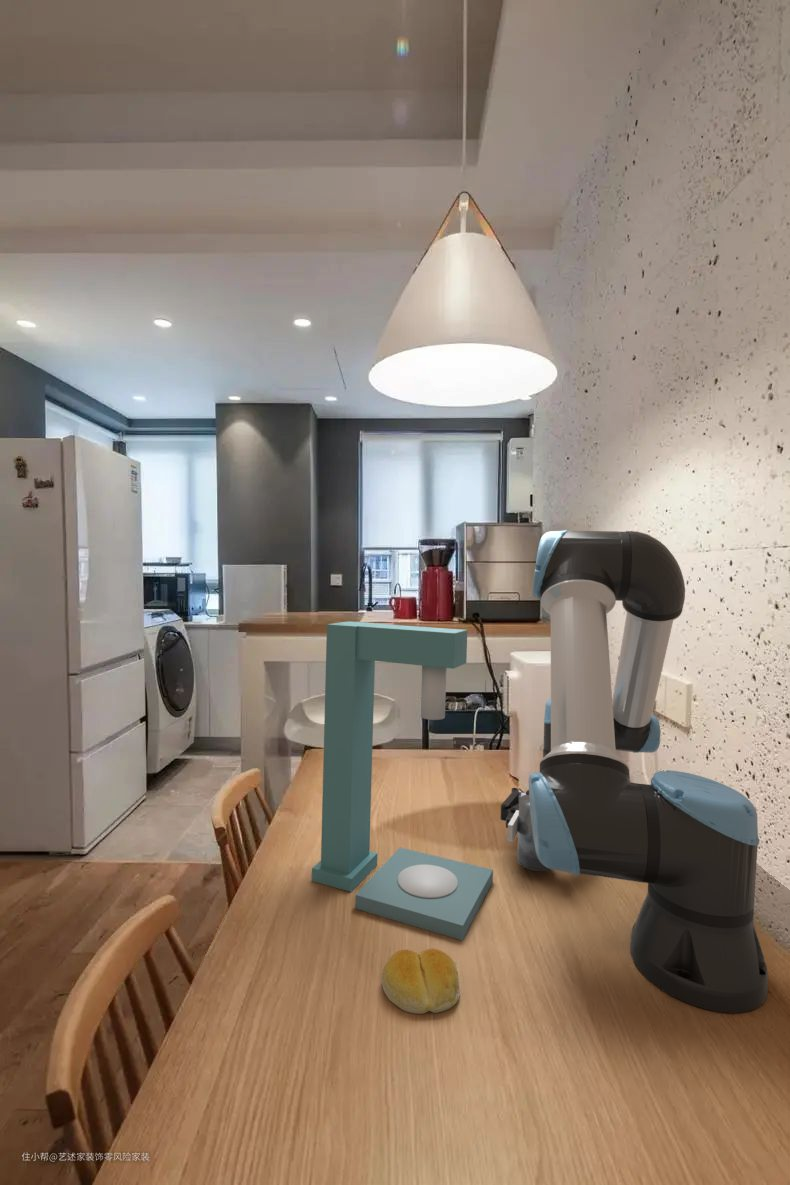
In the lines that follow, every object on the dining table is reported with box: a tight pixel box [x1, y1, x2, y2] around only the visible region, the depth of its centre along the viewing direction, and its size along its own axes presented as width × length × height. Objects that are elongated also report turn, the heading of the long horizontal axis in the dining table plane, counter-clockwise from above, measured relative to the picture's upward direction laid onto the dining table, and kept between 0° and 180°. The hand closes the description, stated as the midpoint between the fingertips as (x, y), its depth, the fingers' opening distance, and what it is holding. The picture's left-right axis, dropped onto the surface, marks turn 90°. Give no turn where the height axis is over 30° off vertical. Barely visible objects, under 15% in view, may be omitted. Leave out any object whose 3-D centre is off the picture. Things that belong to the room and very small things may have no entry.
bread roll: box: [381, 948, 461, 1015], centre depth 66 cm, size 8×9×4 cm
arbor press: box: [311, 621, 494, 941], centre depth 87 cm, size 26×16×40 cm, turn 66°
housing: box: [516, 795, 552, 872], centre depth 94 cm, size 6×6×12 cm
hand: (531, 837), depth 89 cm, fingers closed on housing, 6 cm apart
